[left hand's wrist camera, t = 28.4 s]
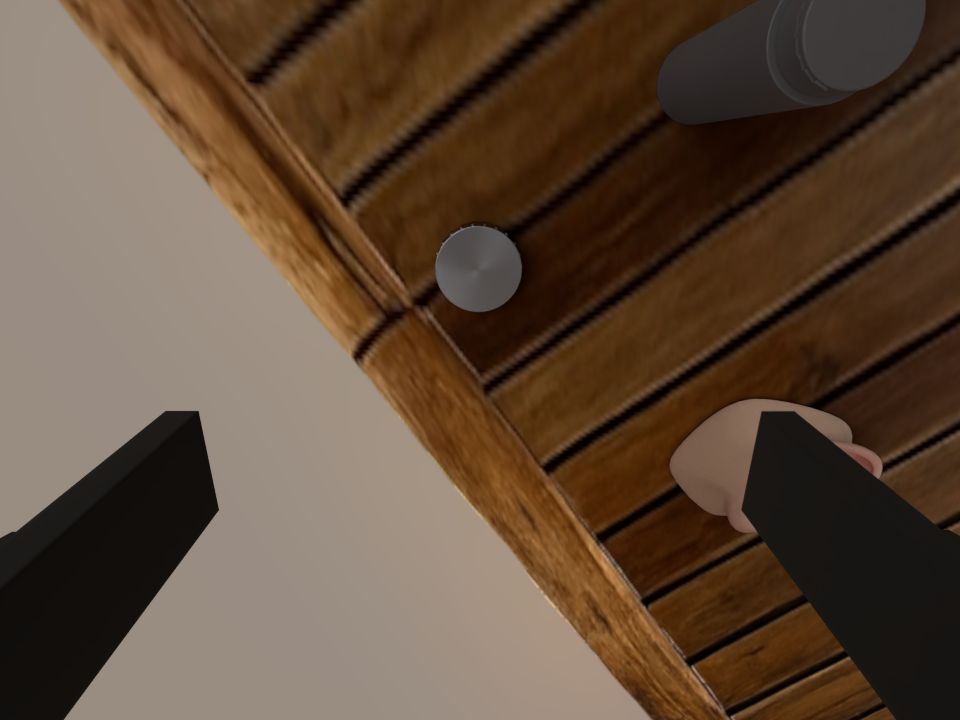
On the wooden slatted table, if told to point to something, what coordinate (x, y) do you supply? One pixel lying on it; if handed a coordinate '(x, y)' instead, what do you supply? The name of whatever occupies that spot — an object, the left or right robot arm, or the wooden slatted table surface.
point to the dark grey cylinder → (787, 57)
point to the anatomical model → (745, 454)
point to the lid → (478, 267)
